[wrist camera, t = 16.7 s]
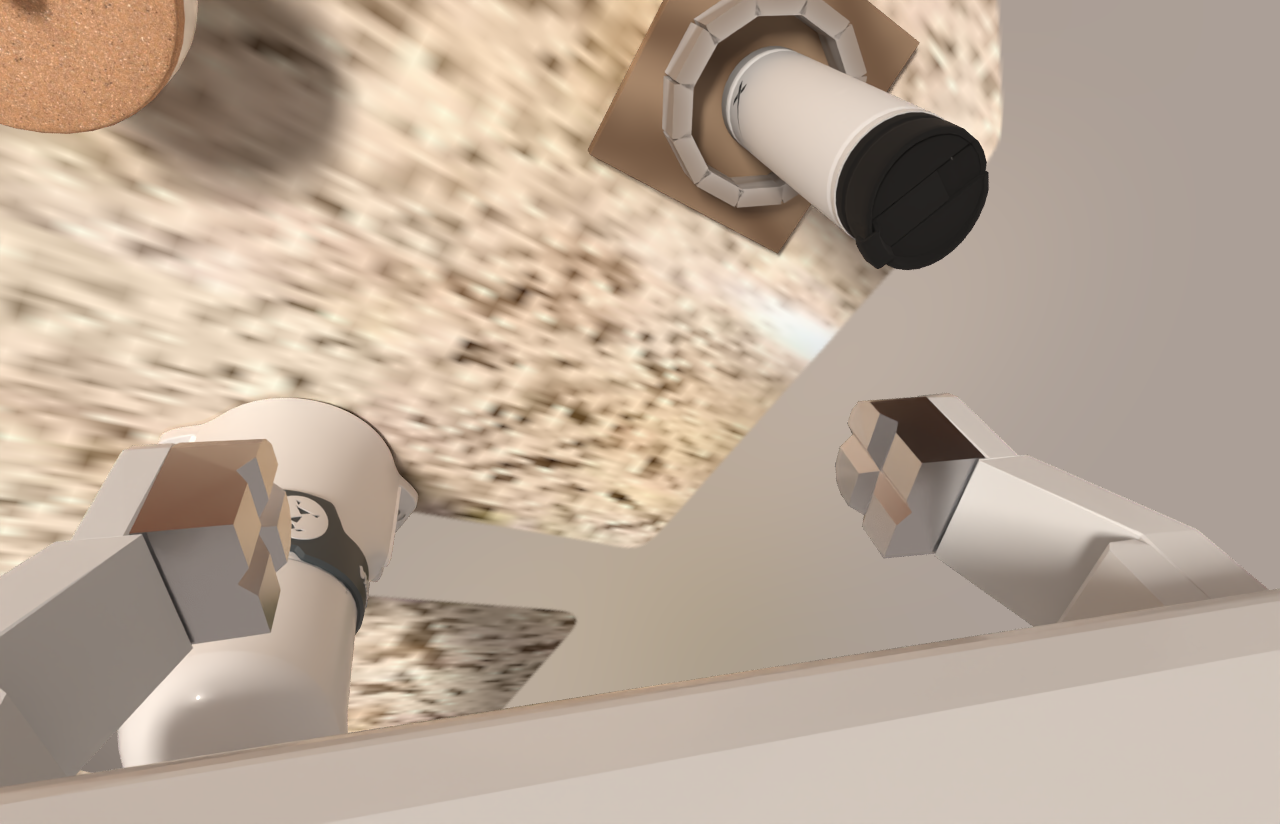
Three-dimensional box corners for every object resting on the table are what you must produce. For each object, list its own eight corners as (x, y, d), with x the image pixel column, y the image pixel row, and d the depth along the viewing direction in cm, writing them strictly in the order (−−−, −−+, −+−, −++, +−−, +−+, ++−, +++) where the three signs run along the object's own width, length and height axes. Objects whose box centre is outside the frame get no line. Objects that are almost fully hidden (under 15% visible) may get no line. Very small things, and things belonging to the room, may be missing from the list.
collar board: (772, 248, 53) (790, 267, 51) (587, 150, 46) (597, 166, 43) (911, 40, 47) (941, 49, 44) (720, -114, 39) (741, -114, 37)
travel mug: (697, 95, 45) (837, 206, 29) (783, 21, 43) (979, 96, 28) (746, 171, 48) (894, 305, 33) (827, 105, 47) (1022, 212, 31)
